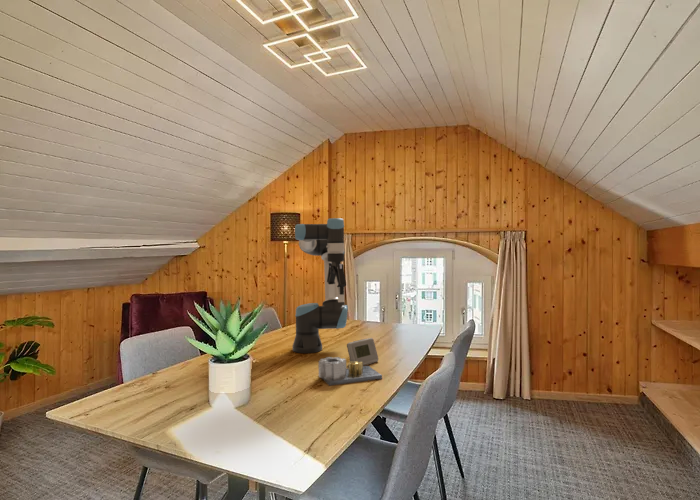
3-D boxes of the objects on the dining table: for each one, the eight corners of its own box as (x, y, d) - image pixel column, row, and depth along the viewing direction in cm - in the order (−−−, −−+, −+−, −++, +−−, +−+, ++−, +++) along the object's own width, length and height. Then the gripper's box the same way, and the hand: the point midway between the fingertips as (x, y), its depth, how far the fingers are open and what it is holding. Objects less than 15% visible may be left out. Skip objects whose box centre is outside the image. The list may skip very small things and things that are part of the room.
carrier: (319, 375, 176) (318, 361, 176) (368, 369, 183) (368, 356, 183) (329, 385, 163) (328, 371, 162) (381, 378, 170) (381, 365, 170)
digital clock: (352, 369, 184) (352, 344, 183) (341, 364, 191) (341, 340, 191) (383, 363, 192) (382, 340, 192) (371, 359, 200) (371, 336, 199)
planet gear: (315, 373, 174) (315, 358, 174) (341, 370, 177) (340, 355, 177) (323, 381, 163) (323, 365, 163) (349, 377, 167) (349, 362, 167)
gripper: (320, 252, 202) (320, 297, 202) (336, 253, 178) (337, 304, 179) (335, 252, 204) (335, 296, 205) (353, 253, 181) (353, 303, 181)
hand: (336, 300), depth 192 cm, fingers open, 13 cm apart
